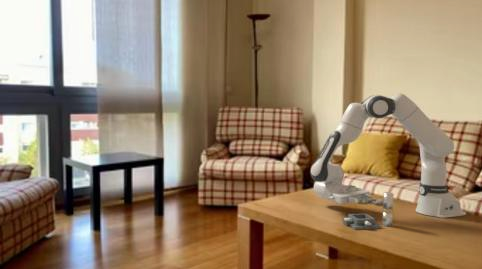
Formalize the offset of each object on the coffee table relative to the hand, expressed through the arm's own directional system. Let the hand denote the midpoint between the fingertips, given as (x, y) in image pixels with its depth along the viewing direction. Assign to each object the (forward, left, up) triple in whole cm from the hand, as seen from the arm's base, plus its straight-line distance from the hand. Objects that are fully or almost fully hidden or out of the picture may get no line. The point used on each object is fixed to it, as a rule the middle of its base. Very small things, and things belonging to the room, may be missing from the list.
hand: (365, 199), depth 190 cm
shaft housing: (+6, +8, -8) cm, 13 cm away
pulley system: (-13, -32, -9) cm, 36 cm away
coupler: (-5, +11, -8) cm, 15 cm away
